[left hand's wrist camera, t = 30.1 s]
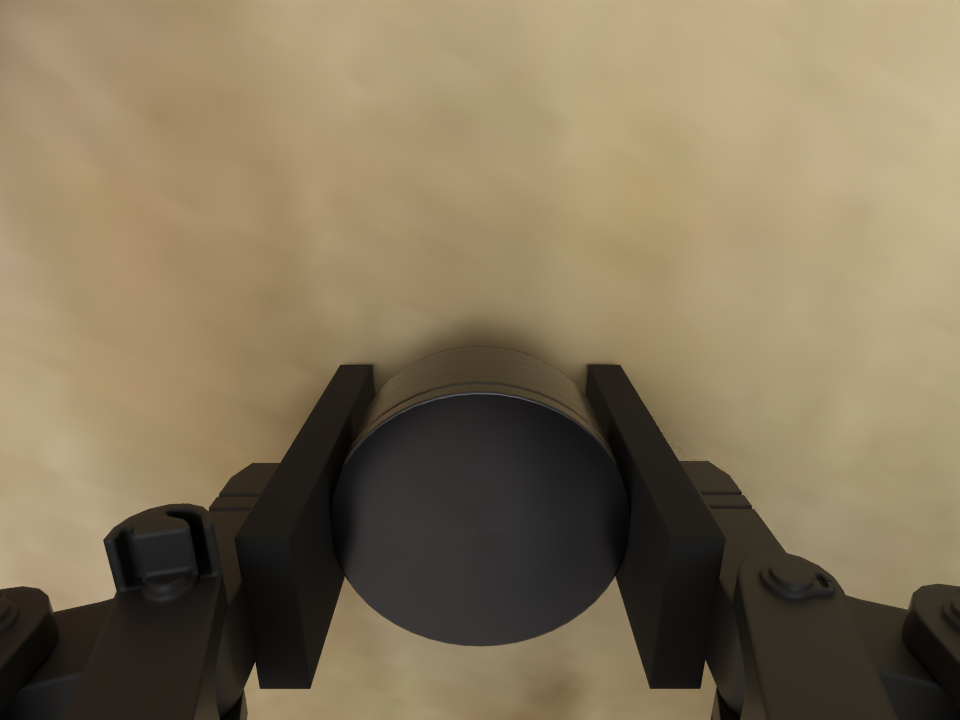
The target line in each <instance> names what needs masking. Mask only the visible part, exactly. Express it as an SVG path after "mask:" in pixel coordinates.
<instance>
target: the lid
mask: <svg viewBox="0 0 960 720" xmlns="http://www.w3.org/2000/svg"><path fill="white" fill-rule="evenodd" d="M630 516H631V505H630V498H629V493H628V490H627V486H626V483H625V480H624V477H623V475H622V472H621V470H620V468H619V465H618V463H617V460H616V458H615V456H614V453H613V451H612V448H611V446H610V444H609V441H608V439H607V437H606V434H605V432H604V429H603V427H602V425H601V422H600V420H599V418H598V416H597V414H596V412H595V410H594V408H593V406H592V405H591V403H590V402H589V400H588V399H587V397H586V396H585V394H584V393H583V392H582V391H581V390H580V389H579V388H578V387H577V385H576V384H575V383H574V382H573V381H572V380H570V379H569V378H568V377H567V376H565V375H564V374H563V373H562V372H561V371H559V370H557V369H556V368H554V367H553V366H551V365H549V364H548V363H546V362H544V361H542V360H540V359H537V358H535V357H533V356H531V355H528V354H525V353H521V352H518V351H515V350H510V349H504V348H499V347H484V346H474V347H461V348H456V349H451V350H446V351H442V352H439V353H436V354H433V355H430V356H427V357H425V358H423V359H421V360H419V361H417V362H415V363H413V364H411V365H409V366H408V367H406V368H405V369H403V370H402V371H400V372H399V373H397V374H396V375H395V376H394V377H392V378H391V379H390V380H389V381H388V382H387V383H386V384H385V385H384V386H383V387H382V388H381V389H380V390H379V391H378V393H377V394H376V395H375V396H374V398H373V399H372V401H371V402H370V404H369V405H368V407H367V408H366V410H365V412H364V415H363V417H362V419H361V421H360V424H359V426H358V428H357V431H356V433H355V435H354V438H353V440H352V443H351V445H350V447H349V450H348V452H347V454H346V457H345V459H344V462H343V464H342V466H341V469H340V471H339V474H338V476H337V478H336V481H335V484H334V488H333V491H332V495H331V500H330V522H331V532H332V541H333V549H334V552H335V555H336V558H337V560H338V563H339V565H340V567H341V569H342V571H343V573H344V575H345V576H346V578H347V580H348V581H349V583H350V584H351V585H352V587H353V588H354V589H355V591H356V592H357V593H358V594H359V595H360V596H361V597H362V599H363V600H364V601H365V602H366V603H367V604H368V605H369V606H371V607H372V608H373V609H374V610H375V611H377V612H378V613H379V614H380V615H382V616H383V617H385V618H386V619H388V620H389V621H391V622H392V623H394V624H396V625H397V626H399V627H402V628H404V629H406V630H408V631H410V632H412V633H414V634H417V635H420V636H423V637H425V638H428V639H432V640H436V641H440V642H444V643H449V644H456V645H463V646H496V645H505V644H511V643H517V642H521V641H525V640H528V639H532V638H536V637H538V636H541V635H543V634H546V633H548V632H551V631H553V630H555V629H557V628H559V627H561V626H563V625H565V624H566V623H568V622H570V621H571V620H573V619H574V618H576V617H577V616H579V615H580V614H581V613H583V612H584V611H585V610H586V609H587V608H589V607H590V606H591V605H592V604H593V603H594V602H595V601H596V600H597V599H598V598H599V597H600V596H601V595H602V593H603V592H604V591H605V590H606V589H607V587H608V586H609V585H610V583H611V582H612V580H613V579H614V577H615V576H616V574H617V572H618V570H619V568H620V566H621V564H622V562H623V559H624V556H625V553H626V550H627V545H628V536H629V527H630Z"/></svg>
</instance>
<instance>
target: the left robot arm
mask: <svg viewBox="0 0 960 720" xmlns="http://www.w3.org/2000/svg"><path fill="white" fill-rule="evenodd" d="M586 397H587V399H588V400H589V402H590V403H591V405H592V406H593V408H594V410H595V412H596V414H597V416H598V418H599V420H600V422H601V425H602V427H603V429H604V432H605V434H606V437H607V439H608V441H609V444H610V446H611V448H612V451H613V453H614V456H615V458H616V460H617V463H618V465H619V468H620V470H621V472H622V475H623V477H624V480H625V483H626V486H627V490H628V493H629V498H630V505H631V516H630V527H629V536H628V545H627V550H626V553H625V556H624V559H623V562H622V564H621V566H620V568H619V570H618V572H617V574H616V579H617V583H618V586H619V589H620V592H621V596H622V599H623V602H624V605H625V609H626V612H627V615H628V618H629V622H630V625H631V628H632V631H633V635H634V638H635V641H636V644H637V648H638V651H639V654H640V657H641V661H642V664H643V667H644V670H645V674H646V677H647V680H648V683H649V687H650V689H700V688H701V682H702V676H703V670H704V664H705V660H706V662H707V664H708V667H709V669H710V671H711V674H712V676H713V678H714V681H715V683H716V685H717V687H716V693H715V698H714V704H713V709H712V715H711V720H960V587H958V586H951V585H943V584H934V585H927V586H922V587H920V588H919V589H918V590H917V591H915V592H914V593H913V595H912V598H911V601H910V604H909V608H908V610H906V609H902V608H897V607H892V606H888V605H883V604H878V603H874V602H869V601H865V600H860V599H857V598H853V597H850V596H846V595H845V593H844V591H843V589H842V588H841V587H840V585H839V584H838V582H837V581H836V580H835V578H834V577H833V576H831V575H830V574H829V573H828V572H826V571H825V570H824V569H822V568H821V567H820V566H818V565H816V564H814V563H812V562H810V561H808V560H806V559H804V558H802V557H799V556H795V555H791V554H787V553H786V552H785V550H784V549H783V548H782V546H781V545H780V544H779V542H778V541H777V539H776V538H775V537H774V535H773V534H772V533H771V531H770V530H769V529H768V527H767V526H766V525H765V523H764V522H763V520H762V519H761V518H760V516H759V515H758V514H757V512H756V511H755V510H754V509H752V505H751V504H750V503H749V501H748V500H747V499H746V497H745V496H744V495H742V492H741V491H740V489H739V488H738V486H737V485H736V484H735V482H734V481H733V480H732V478H731V477H730V476H729V475H728V474H727V473H725V472H724V471H722V470H721V469H719V468H718V467H716V466H715V465H713V464H712V463H710V462H709V461H679V460H678V459H677V457H676V456H675V454H674V452H673V451H672V449H671V447H670V446H669V444H668V443H667V441H666V439H665V438H664V436H663V434H662V433H661V431H660V429H659V428H658V426H657V425H656V423H655V421H654V420H653V418H652V416H651V415H650V413H649V412H648V410H647V408H646V407H645V405H644V403H643V402H642V400H641V398H640V397H639V395H638V394H637V392H636V390H635V389H634V387H633V385H632V384H631V382H630V380H629V379H628V377H627V376H626V374H625V372H624V371H623V369H622V367H621V366H620V365H588V375H587V390H586ZM373 398H374V384H373V369H372V365H340V367H339V368H338V370H337V371H336V373H335V375H334V376H333V378H332V380H331V381H330V383H329V384H328V386H327V388H326V389H325V391H324V393H323V394H322V396H321V398H320V399H319V401H318V402H317V404H316V406H315V407H314V409H313V411H312V412H311V414H310V415H309V417H308V419H307V420H306V422H305V424H304V425H303V427H302V429H301V430H300V432H299V433H298V435H297V437H296V438H295V440H294V442H293V443H292V445H291V446H290V448H289V450H288V451H287V453H286V455H285V456H284V458H283V460H282V461H281V463H252V464H250V465H249V466H247V467H246V468H245V469H243V470H242V471H240V472H239V473H237V474H236V475H234V476H233V477H231V479H230V480H229V481H228V483H227V484H226V485H225V487H224V488H223V489H222V491H221V492H220V494H219V497H217V498H216V499H215V500H214V502H213V503H212V505H211V506H210V507H209V511H207V510H206V509H205V508H204V507H201V506H197V505H192V504H169V505H164V506H160V507H155V508H151V509H148V510H145V511H143V512H141V513H138V514H136V515H133V516H131V517H129V518H128V519H126V520H125V521H123V522H122V523H120V524H119V525H117V526H116V527H114V528H113V529H112V530H111V531H110V533H109V534H108V535H107V536H106V537H105V539H104V540H103V541H104V545H105V548H106V552H107V556H108V560H109V564H110V568H111V571H112V575H113V579H114V583H115V587H116V590H117V592H116V594H115V597H114V598H113V599H109V600H106V601H102V602H98V603H94V604H89V605H85V606H80V607H75V608H71V609H66V610H62V611H57V612H53V610H52V606H51V603H50V600H49V597H48V595H46V594H45V593H44V592H43V591H41V590H40V589H38V588H31V587H23V586H22V587H15V588H7V589H1V590H0V720H247V714H248V712H247V705H246V698H245V693H244V687H245V684H246V682H247V680H248V677H249V675H250V673H251V670H252V668H253V666H254V663H255V662H256V668H257V674H258V680H259V686H260V689H310V688H311V684H312V681H313V678H314V675H315V672H316V668H317V665H318V662H319V659H320V655H321V652H322V649H323V646H324V642H325V639H326V636H327V633H328V629H329V626H330V623H331V620H332V616H333V613H334V610H335V607H336V603H337V600H338V597H339V594H340V590H341V587H342V584H343V581H344V577H345V575H344V573H343V571H342V569H341V567H340V565H339V563H338V560H337V558H336V555H335V552H334V549H333V541H332V532H331V522H330V500H331V495H332V491H333V488H334V484H335V481H336V478H337V476H338V474H339V471H340V469H341V466H342V464H343V462H344V459H345V457H346V454H347V452H348V450H349V447H350V445H351V443H352V440H353V438H354V435H355V433H356V431H357V428H358V426H359V424H360V421H361V419H362V417H363V415H364V412H365V410H366V408H367V407H368V405H369V404H370V402H371V401H372V399H373Z"/></svg>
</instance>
